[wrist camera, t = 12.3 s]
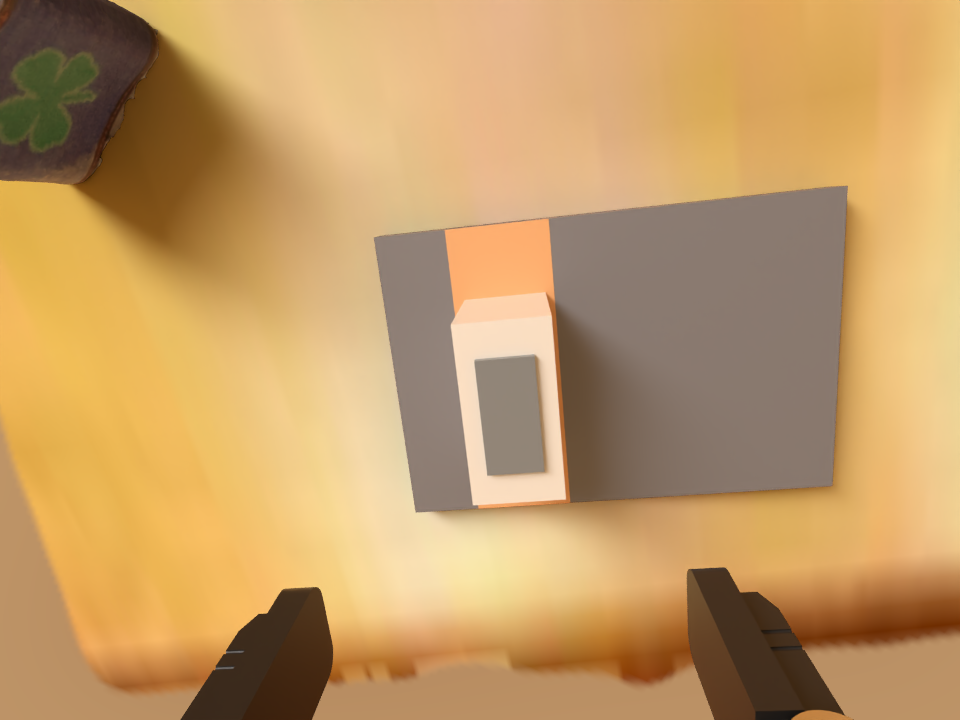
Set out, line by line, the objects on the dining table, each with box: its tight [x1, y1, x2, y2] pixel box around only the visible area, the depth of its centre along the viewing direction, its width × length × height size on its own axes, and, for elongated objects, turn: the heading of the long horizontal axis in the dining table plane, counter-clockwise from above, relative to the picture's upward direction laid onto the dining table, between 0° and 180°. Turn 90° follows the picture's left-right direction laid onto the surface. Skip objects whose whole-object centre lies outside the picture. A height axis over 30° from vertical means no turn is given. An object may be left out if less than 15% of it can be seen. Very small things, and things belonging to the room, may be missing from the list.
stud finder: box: [451, 292, 566, 505], centre depth 27 cm, size 4×8×6 cm, turn 6°
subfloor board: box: [374, 186, 848, 512], centre depth 30 cm, size 22×15×2 cm
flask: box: [0, 0, 159, 184], centre depth 24 cm, size 9×3×11 cm, turn 142°
